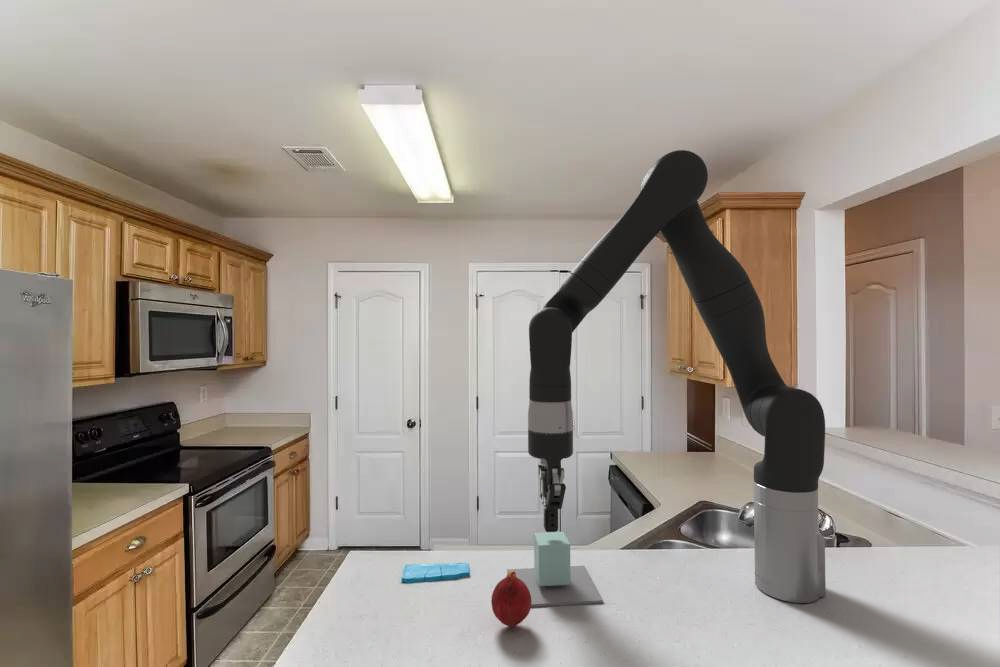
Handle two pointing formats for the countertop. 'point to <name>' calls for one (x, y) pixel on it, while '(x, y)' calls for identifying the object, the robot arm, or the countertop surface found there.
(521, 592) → the onion
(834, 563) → the countertop surface
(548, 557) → the mint green square prism
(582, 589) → the mat
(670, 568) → the countertop surface
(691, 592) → the countertop surface
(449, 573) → the sponge
